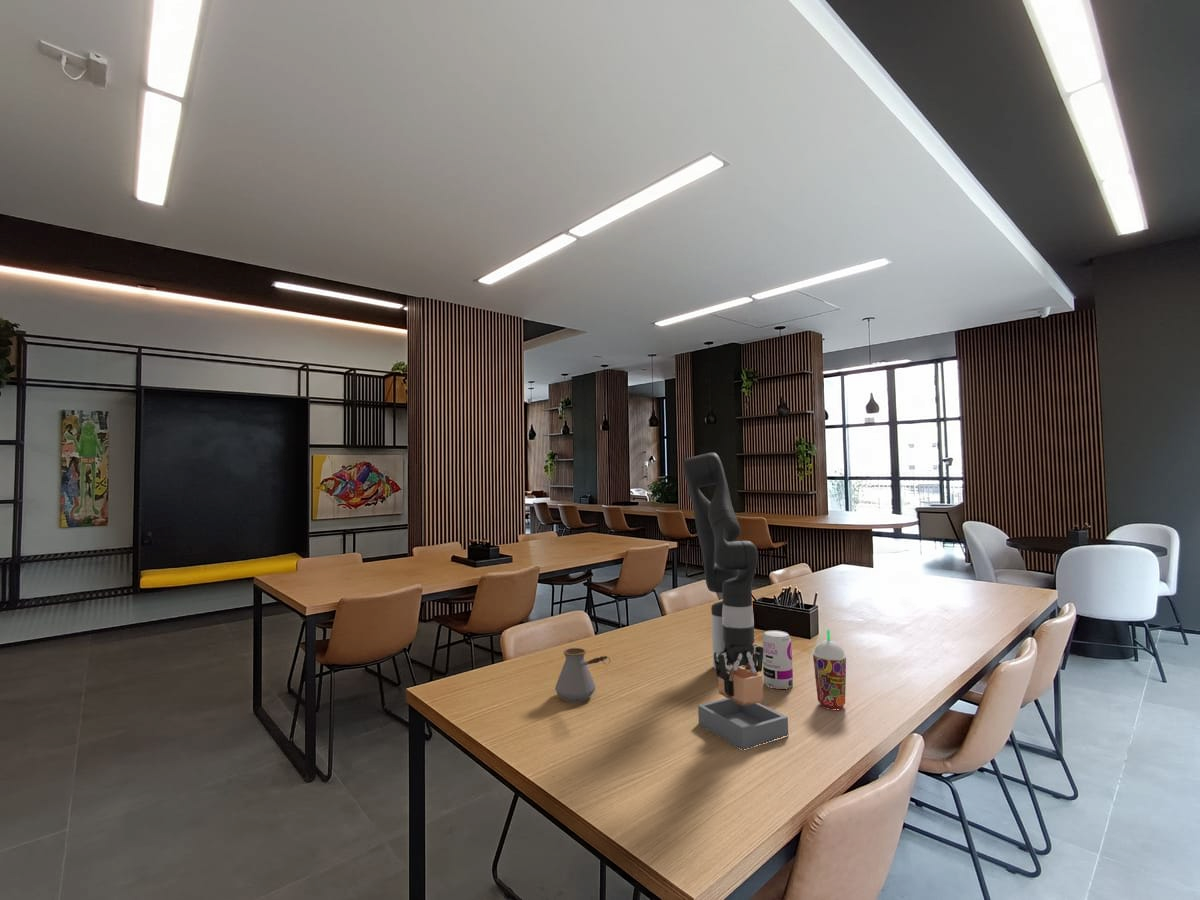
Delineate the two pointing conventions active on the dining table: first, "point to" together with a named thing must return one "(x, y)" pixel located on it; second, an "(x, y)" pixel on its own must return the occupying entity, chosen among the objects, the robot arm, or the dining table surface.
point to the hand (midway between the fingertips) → (740, 692)
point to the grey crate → (742, 722)
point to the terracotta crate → (744, 687)
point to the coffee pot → (576, 676)
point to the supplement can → (777, 659)
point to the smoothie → (830, 673)
